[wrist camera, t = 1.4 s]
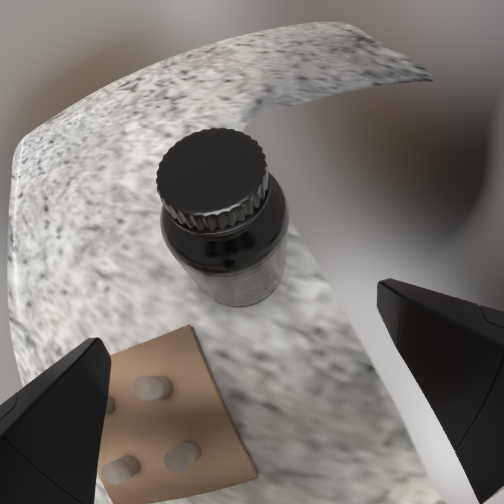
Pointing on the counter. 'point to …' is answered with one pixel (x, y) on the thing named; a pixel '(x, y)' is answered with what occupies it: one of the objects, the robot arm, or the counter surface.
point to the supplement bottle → (224, 215)
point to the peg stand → (167, 425)
